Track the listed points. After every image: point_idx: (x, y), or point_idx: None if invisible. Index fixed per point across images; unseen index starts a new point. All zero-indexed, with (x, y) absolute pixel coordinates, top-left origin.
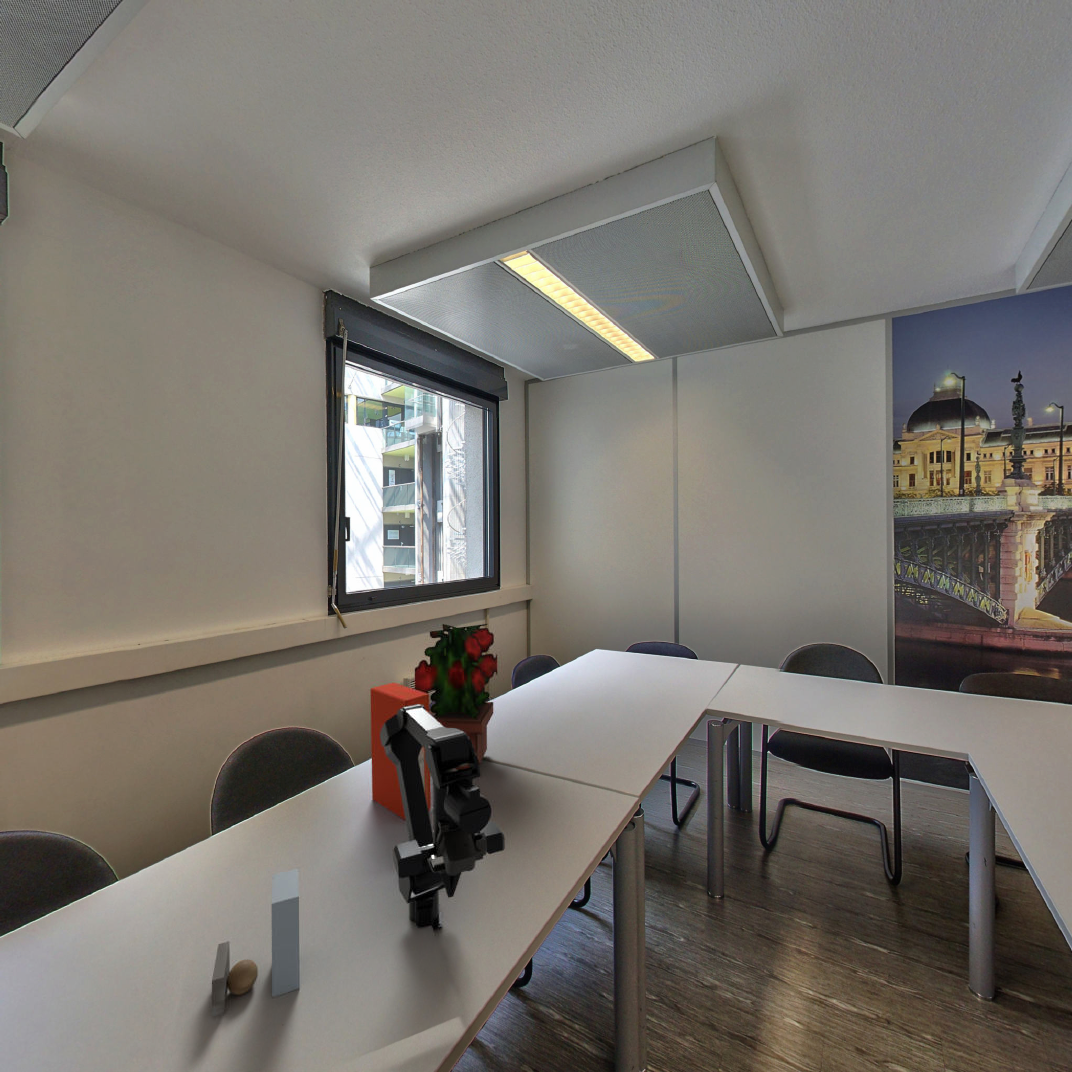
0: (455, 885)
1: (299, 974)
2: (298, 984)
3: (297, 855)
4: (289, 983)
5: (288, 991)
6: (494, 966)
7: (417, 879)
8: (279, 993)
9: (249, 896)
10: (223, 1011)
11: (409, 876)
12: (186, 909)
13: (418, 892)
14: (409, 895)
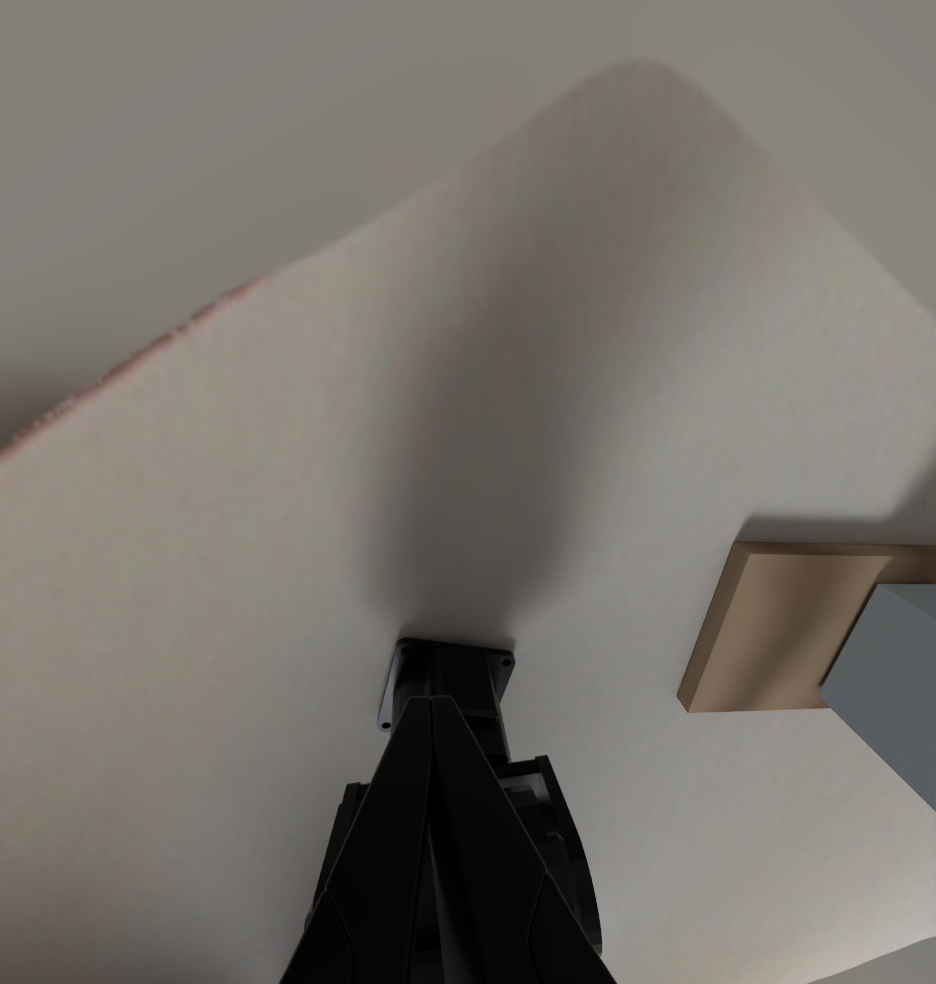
0: (385, 798)
1: (922, 611)
2: (894, 591)
3: (657, 948)
4: (927, 599)
5: (906, 585)
6: (253, 387)
7: (559, 884)
8: (932, 586)
9: (790, 872)
10: None
11: (594, 911)
12: (895, 870)
13: (529, 795)
14: (556, 789)
